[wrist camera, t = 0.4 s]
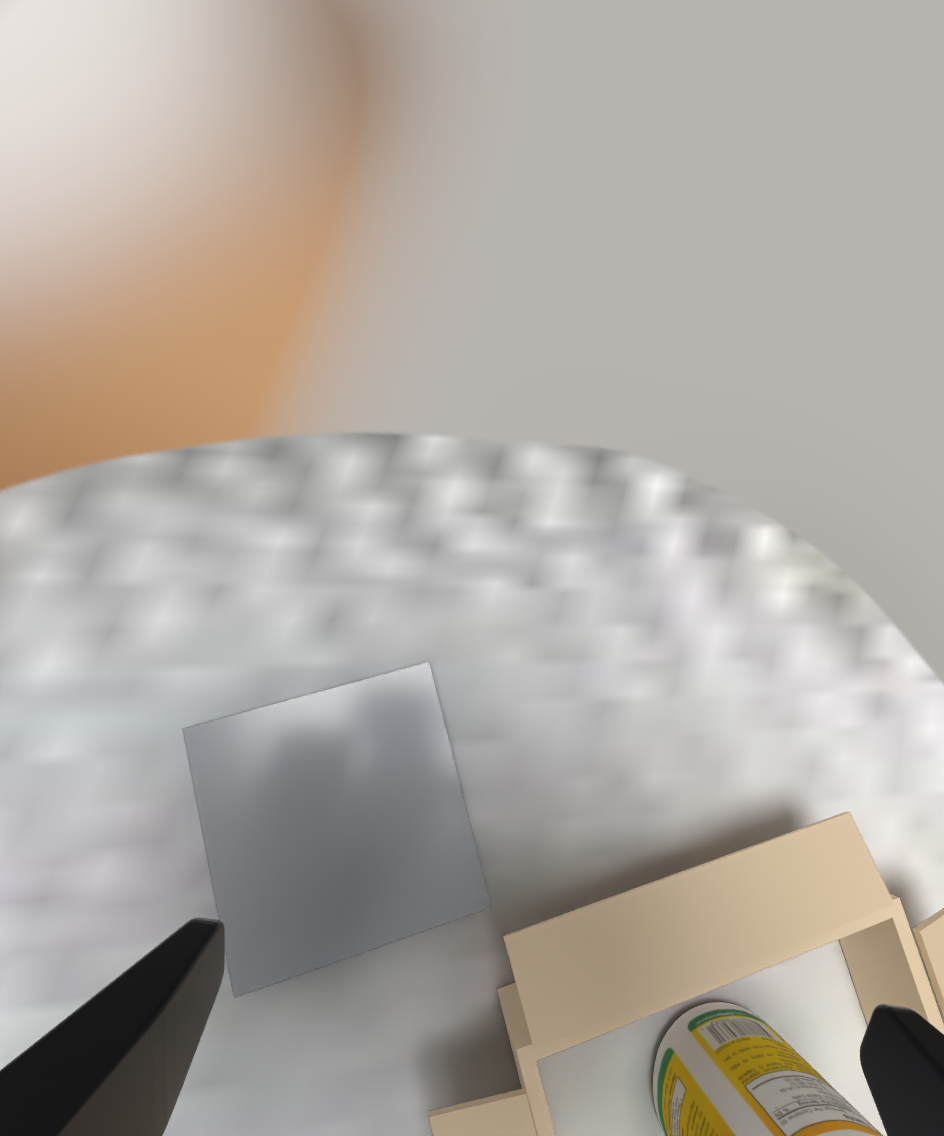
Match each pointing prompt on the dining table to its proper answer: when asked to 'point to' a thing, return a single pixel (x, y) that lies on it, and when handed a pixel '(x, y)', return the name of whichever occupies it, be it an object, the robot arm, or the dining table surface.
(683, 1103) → the supplement bottle
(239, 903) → the plate
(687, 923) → the carton
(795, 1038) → the dining table surface
